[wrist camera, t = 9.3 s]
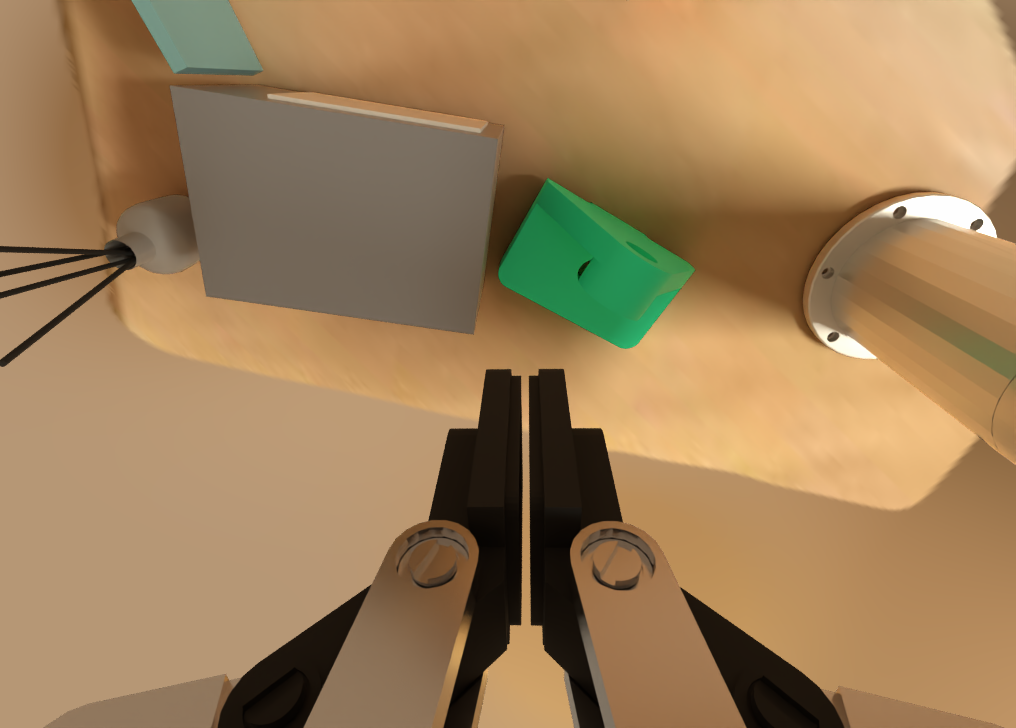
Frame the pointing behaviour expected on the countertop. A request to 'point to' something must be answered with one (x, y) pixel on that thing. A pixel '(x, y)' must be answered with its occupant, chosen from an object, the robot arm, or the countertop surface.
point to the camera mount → (591, 267)
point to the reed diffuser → (122, 252)
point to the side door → (199, 36)
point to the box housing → (339, 203)
